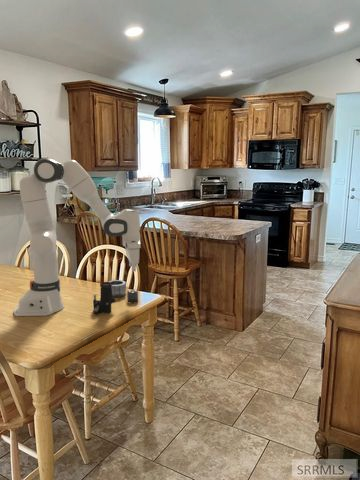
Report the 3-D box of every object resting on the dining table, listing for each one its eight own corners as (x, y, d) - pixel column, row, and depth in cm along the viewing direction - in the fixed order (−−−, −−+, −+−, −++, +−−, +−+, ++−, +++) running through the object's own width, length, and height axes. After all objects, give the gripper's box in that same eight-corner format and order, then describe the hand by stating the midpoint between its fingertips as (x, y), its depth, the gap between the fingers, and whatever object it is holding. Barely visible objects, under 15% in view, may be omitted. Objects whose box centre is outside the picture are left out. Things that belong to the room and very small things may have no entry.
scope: (92, 282, 183) (113, 280, 186) (93, 309, 185) (114, 307, 188) (93, 287, 175) (115, 285, 178) (94, 316, 178) (116, 313, 181)
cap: (128, 303, 194) (127, 292, 193) (126, 299, 199) (126, 289, 198) (138, 302, 195) (138, 291, 194) (137, 298, 201) (136, 288, 199)
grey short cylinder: (107, 298, 201) (107, 286, 200) (106, 292, 210) (105, 280, 209) (127, 296, 203) (126, 285, 202) (124, 290, 213) (124, 279, 212)
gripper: (122, 238, 200) (123, 263, 203) (127, 246, 181) (128, 274, 184) (134, 237, 202) (135, 263, 205) (141, 245, 182) (142, 273, 185)
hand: (132, 268), depth 194 cm, fingers open, 8 cm apart
